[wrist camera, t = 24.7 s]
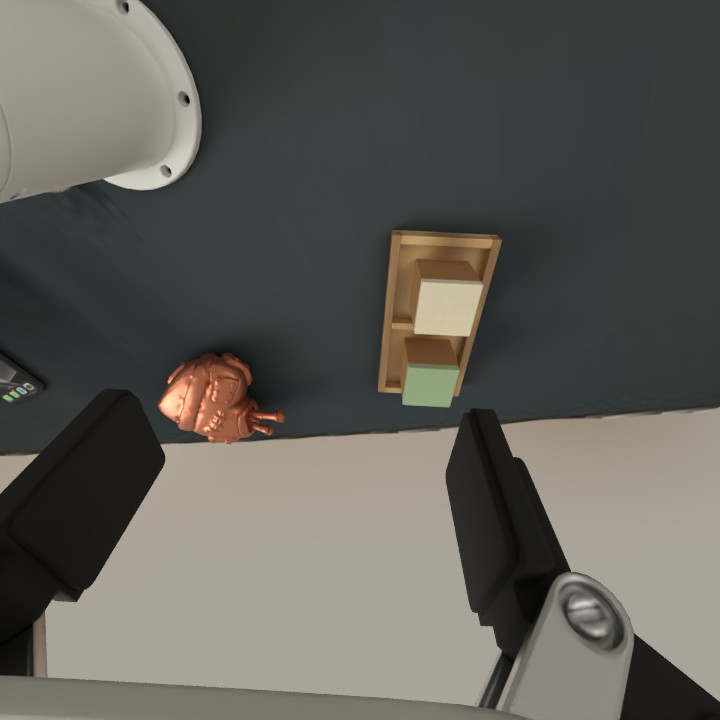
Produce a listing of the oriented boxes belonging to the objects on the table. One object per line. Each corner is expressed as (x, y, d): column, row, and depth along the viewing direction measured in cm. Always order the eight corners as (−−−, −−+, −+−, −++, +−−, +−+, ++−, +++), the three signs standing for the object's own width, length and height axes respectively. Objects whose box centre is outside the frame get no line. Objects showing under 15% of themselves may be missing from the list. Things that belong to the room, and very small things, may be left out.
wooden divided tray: (378, 383, 42) (378, 392, 40) (392, 229, 31) (392, 234, 30) (455, 387, 42) (458, 396, 40) (497, 234, 31) (502, 240, 29)
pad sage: (399, 372, 40) (402, 405, 36) (404, 337, 37) (408, 367, 33) (441, 374, 40) (449, 407, 36) (450, 339, 37) (460, 370, 33)
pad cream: (409, 306, 35) (414, 334, 30) (415, 258, 32) (422, 281, 28) (457, 308, 35) (469, 337, 30) (468, 261, 32) (483, 285, 27)
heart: (168, 455, 42) (288, 451, 41) (127, 374, 35) (268, 368, 35) (189, 422, 47) (296, 418, 46) (157, 346, 40) (280, 340, 40)
